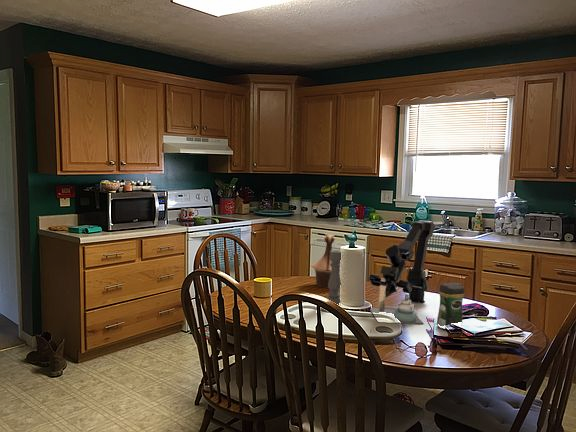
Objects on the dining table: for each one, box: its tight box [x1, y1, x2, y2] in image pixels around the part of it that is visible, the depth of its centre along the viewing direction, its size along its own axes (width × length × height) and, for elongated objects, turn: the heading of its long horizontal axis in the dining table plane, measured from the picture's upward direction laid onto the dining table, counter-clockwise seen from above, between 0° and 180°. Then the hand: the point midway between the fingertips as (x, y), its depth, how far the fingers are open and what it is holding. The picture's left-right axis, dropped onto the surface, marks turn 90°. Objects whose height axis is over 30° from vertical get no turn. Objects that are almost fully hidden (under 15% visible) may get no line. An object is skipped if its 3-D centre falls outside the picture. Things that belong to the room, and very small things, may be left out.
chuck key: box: [377, 285, 415, 314], centre depth 209 cm, size 14×6×11 cm, turn 76°
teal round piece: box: [394, 310, 417, 322], centre depth 208 cm, size 9×9×4 cm
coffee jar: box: [436, 282, 465, 326], centre depth 200 cm, size 10×8×19 cm
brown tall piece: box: [310, 233, 336, 289], centre depth 261 cm, size 18×17×28 cm
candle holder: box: [326, 249, 342, 305], centre depth 227 cm, size 6×6×25 cm
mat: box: [369, 307, 424, 325], centre depth 214 cm, size 19×19×1 cm
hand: (381, 299), depth 212 cm, fingers closed
